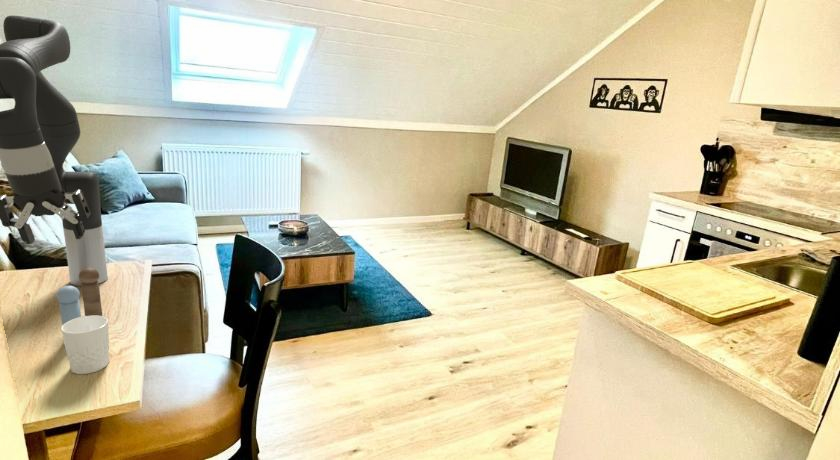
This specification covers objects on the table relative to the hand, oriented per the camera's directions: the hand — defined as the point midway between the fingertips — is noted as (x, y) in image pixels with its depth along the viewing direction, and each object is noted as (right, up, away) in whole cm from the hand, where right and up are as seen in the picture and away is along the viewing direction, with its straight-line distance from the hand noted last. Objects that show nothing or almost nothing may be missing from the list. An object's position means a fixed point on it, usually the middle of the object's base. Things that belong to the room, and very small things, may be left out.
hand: (55, 239), depth 94 cm
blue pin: (-5, -24, +11) cm, 27 cm away
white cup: (+5, -27, +3) cm, 28 cm away
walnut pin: (-8, -21, +22) cm, 31 cm away
